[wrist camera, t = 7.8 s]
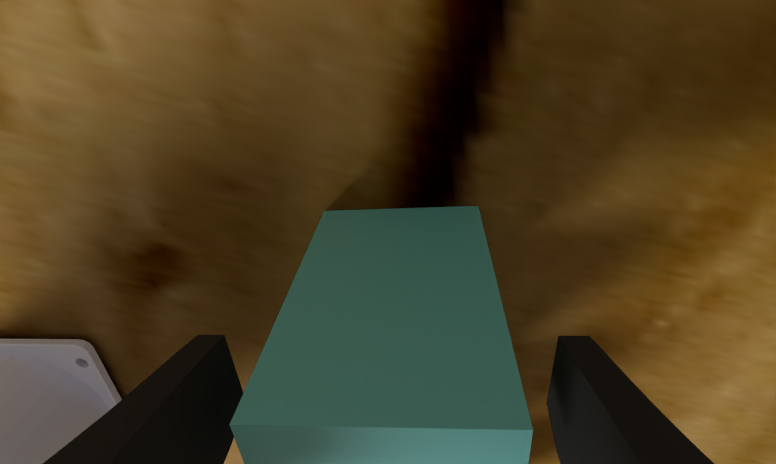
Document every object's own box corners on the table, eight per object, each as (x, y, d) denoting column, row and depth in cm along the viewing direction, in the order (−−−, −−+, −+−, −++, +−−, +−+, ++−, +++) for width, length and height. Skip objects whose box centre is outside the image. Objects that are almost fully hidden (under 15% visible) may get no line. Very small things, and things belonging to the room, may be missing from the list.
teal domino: (476, 258, 15) (522, 501, 8) (332, 261, 15) (255, 492, 8) (478, 205, 14) (533, 429, 7) (323, 211, 14) (229, 424, 7)
